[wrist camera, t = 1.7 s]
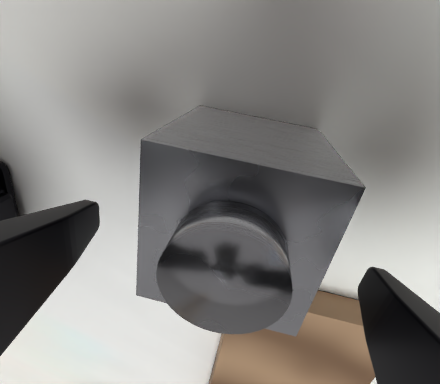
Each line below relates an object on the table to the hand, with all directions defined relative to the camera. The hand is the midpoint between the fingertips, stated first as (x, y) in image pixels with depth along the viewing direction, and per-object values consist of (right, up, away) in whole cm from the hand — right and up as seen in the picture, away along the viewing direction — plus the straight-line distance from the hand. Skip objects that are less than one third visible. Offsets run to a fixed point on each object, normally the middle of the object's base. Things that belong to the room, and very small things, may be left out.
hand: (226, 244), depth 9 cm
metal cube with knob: (+1, +3, +6) cm, 7 cm away
